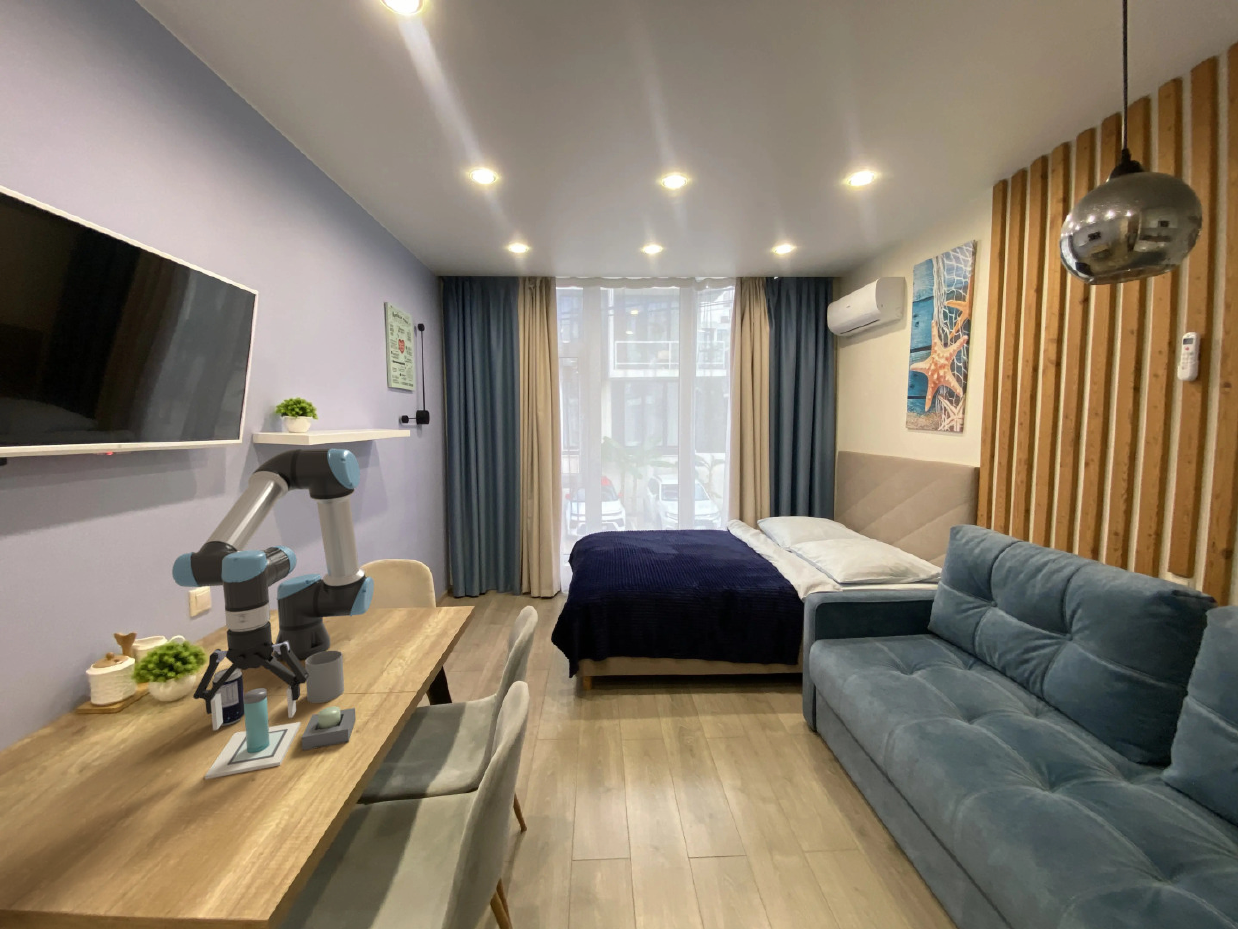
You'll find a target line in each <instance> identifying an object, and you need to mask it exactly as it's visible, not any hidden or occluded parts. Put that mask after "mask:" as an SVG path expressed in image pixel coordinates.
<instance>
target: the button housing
mask: <svg viewBox="0 0 1238 929" xmlns="http://www.w3.org/2000/svg"><path fill="white" fill-rule="evenodd" d="M340 716H341V724H340V725H339V726H336V727H330V728H324V729H319V725H318V713H316V714H311V716H310V719H309V721H308V723H307V724H306V727H305V729H304V732H303V733H302V736H301V750H302V751H306V750H307V751H308V750H312V749H318V748H322V747H328V746H334V745H340V744H344V743H345V744H346V743H349V742H350V738H351V735H352V732H353V729H354V727H355V722H356V707H352V708H345V709H340Z"/></svg>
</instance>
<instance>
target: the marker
mask: <svg viewBox="0 0 1238 929" xmlns="http://www.w3.org/2000/svg"><path fill="white" fill-rule="evenodd" d="M267 696H268V691H267V689H266V688H264V687H260V688H255V689H254V688H253V689H250V690H249V691H247V692H246V693H244V695H243V701H244V712H245V714H244V723H245V724H244V725H245V731H246V743H247V752H248V753H256V752H260V751H262V750H264V749H266V748H267V747H268V746H269V744H270V742H269V727H270V726H269V713H268V712H269V711H268V697H267Z"/></svg>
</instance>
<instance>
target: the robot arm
mask: <svg viewBox="0 0 1238 929" xmlns="http://www.w3.org/2000/svg"><path fill="white" fill-rule="evenodd" d="M360 476H361V469H360V466H359V462H358V460H357V457H356V456H355V455H354V453H353V452H351V451H350V450H348V449H343V448H341V449H340V448H339V449H338V448H337V449H336V448H313V449H305V448H304V449H299V448H298V449H297V448H296V449H295V448H294V449H289V450H286V451H283V452H280V453H278V454H276V455H274V456H272V457H271V458H269V459H268V460H266V461H265V462H263V463H262V464H261V465H259V466H258V467H257V468H256V469H255V470H254V472H252V474H251V475H250V476H249V478H248V482H247V483H248V484H247V485H248V486H247V487H246V489H245V490H244V491H243V492H242V494H241V495H240V496H239V498H238V499H237V501H235V503H234V505H232V507H231V508H230V510H228V512H227V513H226V515H225V516H224V518H223V519H222V520H221V521H220V523H219V524H218V525H217V527H216V528H215V529H214V531H213V532H212V533H211V535H209V537H208V539H207V540H206V541H205V543H204V544H203V545H202V546H201V547H200V549H199V550H198V551H197V552H194V551H191V552H188V553H187V552H186V553H184V554H183V553H182V554H181V555H179V556H178V557H176V559H175V560H174V563H173V564H172V569H171V574H172V578H173V580H174V582H175V584H176V585H178V586H180V587H185V588H203V587H217V586H218V587H219V586H222V587H223V590H222V591H223V597H224V614H225V626H226V629H227V631H226V639H227V650H222V649H221V648H216V649H215V650H214V651H213V652H212V653H211V654H210V655H209V658H208V660H209V662H208V666H207V668H206V670H205V672H204V673H203V676H202V677H201V679H200V682H199V684H198V686H197V688H196V690H195V692H194V693H193V695H192V696H193V697H192V698H193V699H195V700H198V699H203V700H204V701H205V712H206V714H207V715H211V721H212V722H211V724H212V731H217V730H219V728H220V727H222V725H221V724H222V723H223V717H222V704H221V693H220V694H216V695H215V693H216V692H217V691H218V690H219V688H220V687H221V686H222V685H223V684H224V683H225V681H226V680H227V679H228V678H229V677H230V676H231V674H232V673H233V672H234V671H235V670H236V669H237V668H239V669H240V670H241V671H246V670H250V669H259V668H261V667H262V668H264V669H265V670H268V671H270V672H271V673H273V675H275V676H277V677H278V678H279V679H280V680H281V681H283V682H284V683H285V684H287V685H288V686H287V688H286V698H287V699H286V701H287V714H288V719H291V718H294V716H295V714H296V711H297V703H296V701H298V700H299V698H300V696H301V687H300V686H301V684H305V683H306V680H307V678H308V677H309V674H308V672H307V671H306V668H305V667H304V666H303V664H302V663H301V661H300V660H304V659H305V660H306V659H307V658H308V657H310V656H312V655H314V654H317V653H320V652H324V651H328V649H329V648H330V646H331V637H330V635H329V633H328V630H327V628H326V626H325V623H324V619H323V618H331V617H332V618H333V617H335V618H336V617H348V616H350V617H352V616H360V615H361V616H362V615H364V614H365V613H367V611H368V610H369V608H370V607H371V603H372V599H373V596H374V590H375V589H374V588H375V584H374V579H373V577H371V576H366V571H365V569H364V568H363V567H361V566H359V559H358V551H357V543H356V535H355V528H354V527H355V526H354V523H353V522H354V520H353V514H352V506H351V496H353V494H354V493H355V488H356V489H357V487H358V486H359V484H360V481H361V478H360ZM296 490H308V494H309V498H310V499H311V500H314V502H316V506H317V511H318V518H319V524H320V531H321V532H320V533H321V537H322V545H323V550H324V558H325V562H326V564H325V565H326V570H327V573H326V574H325V575H324V576H323V579H322V576H321V574H320V573H309V574H303V575H298V576H295V577H291V578H290V579H287V580H284V581H282V582H281V583H280V584H278V586H277V591H276V592H277V593H276V594H277V595H276V601H277V616H278V628H279V629H278V634H277V636H276V638H275V639H276V640H275V642H274V643H273V640H272V639H273V636H272V624H271V622H270V620H271V609H270V598H269V588H270V587H271V586H272V585H274V584H276V583H278V582H280V581H281V580H283V579H285V578H286V577H288V576H289V574H290V573H292V572H293V571H294V569H295V568H296V566H297V555H296V554H295V552H294V551H293V550H292V549H291V548H289V547H287V546H285V545H275V546H270V547H268V548H266V549H262V550H260V549H249V550H248V549H247V550H245V549H246V548H247V547H248V545H249V543H250V542H251V540H252V539H253V538H254V536H255V534H256V533H257V531H258V530H259V529H260V527H261V525H262V524H263V522H264V521H265V519H266V518H267V517H268V515H269V514H270V512H271V511H272V509H273V508H274V506H275V505H276V503H277V501H278V500H281V499H282V498H284V497H285V496H286V495H287V494H288V493H289V492H290V491H296ZM225 658H226V659H227V660H228V661H229V662H230V663H231V665H230V666H229V667H228V668H229V669H228V670H227V671H226V672H225V673H224V674H223V676H222V677H221V678H220V679H219V680H218V681H217V683H216V684H215V685H214V686H213V685H212V687H211V689H208V686H209V685H210V683H211V681H212V680H213V678H214V675H215V674H216V671H217V669H218V668H219V667H218V666H219V665H220V663H221V662H222V661H223V660H224V659H225ZM280 661H283V662H285V663H286V665H287V667H286V666H285V665H284V664H282V663H281V662H280Z"/></svg>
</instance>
